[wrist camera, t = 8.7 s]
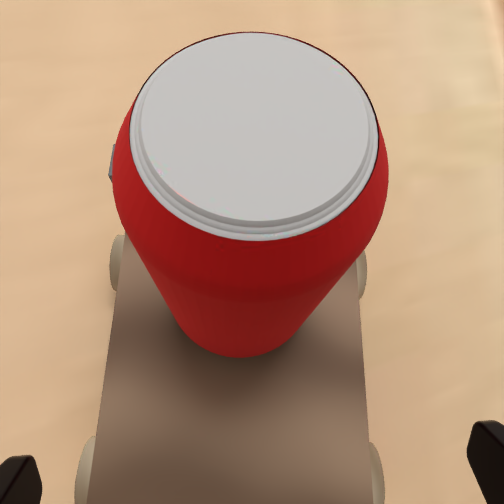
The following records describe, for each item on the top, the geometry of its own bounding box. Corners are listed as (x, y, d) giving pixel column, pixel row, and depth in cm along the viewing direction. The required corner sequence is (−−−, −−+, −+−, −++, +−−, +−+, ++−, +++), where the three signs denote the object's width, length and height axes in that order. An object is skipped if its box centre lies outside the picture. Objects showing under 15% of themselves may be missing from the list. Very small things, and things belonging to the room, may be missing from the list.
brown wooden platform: (367, 545, 20) (453, 627, 12) (87, 542, 19) (-5, 626, 12) (347, 232, 25) (397, 158, 18) (131, 223, 25) (89, 142, 17)
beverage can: (143, 309, 18) (12, 150, 7) (224, 206, 20) (219, -41, 9) (258, 390, 17) (311, 352, 6) (331, 274, 19) (470, 88, 8)
